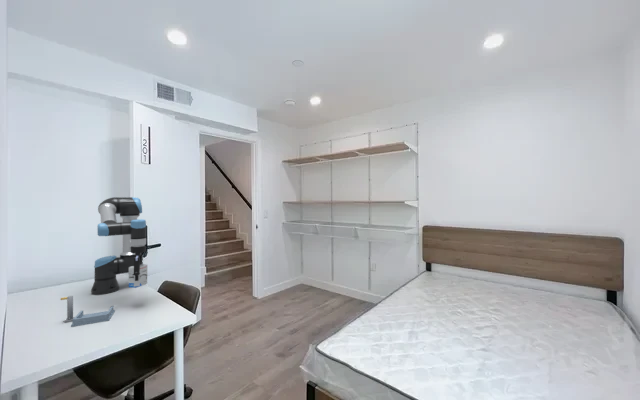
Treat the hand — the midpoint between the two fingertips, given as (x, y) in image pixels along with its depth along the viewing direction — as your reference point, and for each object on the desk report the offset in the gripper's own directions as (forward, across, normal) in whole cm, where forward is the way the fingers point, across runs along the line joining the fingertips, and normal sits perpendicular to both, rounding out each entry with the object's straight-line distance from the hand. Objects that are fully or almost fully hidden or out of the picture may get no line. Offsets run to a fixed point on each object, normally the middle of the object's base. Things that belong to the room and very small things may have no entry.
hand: (138, 283), depth 157 cm
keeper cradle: (+13, +11, -21) cm, 27 cm away
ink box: (+1, 0, 0) cm, 1 cm away
